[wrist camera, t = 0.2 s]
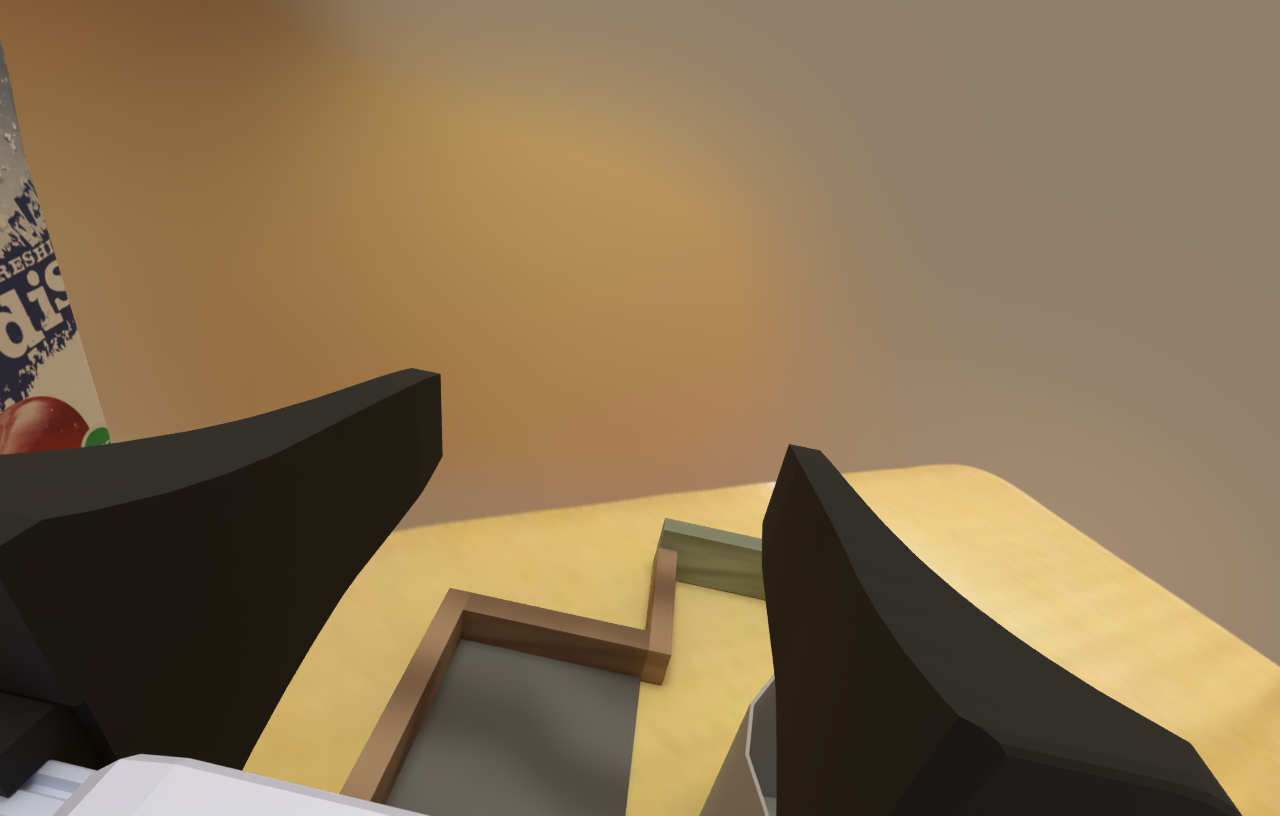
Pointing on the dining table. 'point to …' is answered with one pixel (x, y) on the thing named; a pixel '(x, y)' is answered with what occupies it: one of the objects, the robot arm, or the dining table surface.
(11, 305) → the juice carton
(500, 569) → the dining table surface
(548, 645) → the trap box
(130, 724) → the robot arm
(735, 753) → the cup
